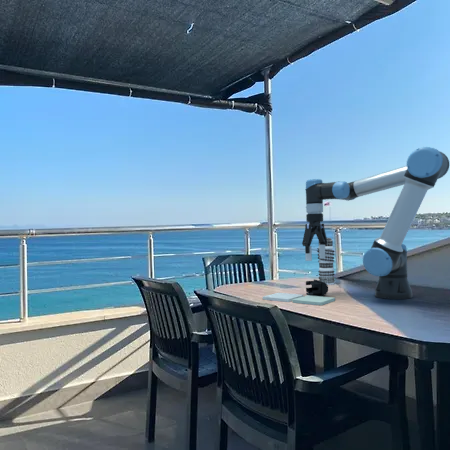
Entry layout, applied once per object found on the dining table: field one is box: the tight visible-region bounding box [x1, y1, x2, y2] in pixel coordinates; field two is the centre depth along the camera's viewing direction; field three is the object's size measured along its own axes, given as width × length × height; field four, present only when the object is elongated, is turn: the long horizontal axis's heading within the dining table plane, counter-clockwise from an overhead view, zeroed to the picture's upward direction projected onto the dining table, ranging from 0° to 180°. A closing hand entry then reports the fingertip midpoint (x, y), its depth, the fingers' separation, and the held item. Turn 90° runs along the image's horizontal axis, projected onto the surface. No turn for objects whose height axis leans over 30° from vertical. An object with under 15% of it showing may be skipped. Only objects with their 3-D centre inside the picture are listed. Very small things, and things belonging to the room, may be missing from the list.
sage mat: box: [291, 294, 336, 306], centre depth 177 cm, size 13×13×1 cm
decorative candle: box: [316, 237, 336, 286], centre depth 230 cm, size 9×9×25 cm
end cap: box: [305, 278, 329, 297], centre depth 193 cm, size 10×7×7 cm
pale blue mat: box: [262, 292, 304, 303], centre depth 186 cm, size 13×13×1 cm
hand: (315, 259), depth 193 cm, fingers open, 13 cm apart
